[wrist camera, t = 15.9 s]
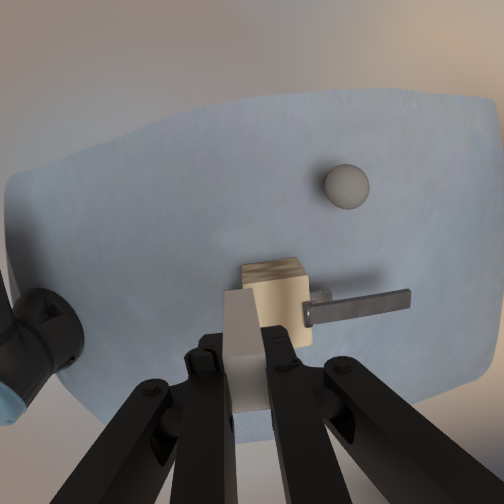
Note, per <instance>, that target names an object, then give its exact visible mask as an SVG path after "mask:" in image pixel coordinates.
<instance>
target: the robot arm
mask: <svg viewBox="0 0 504 504" xmlns="http://www.w3.org/2000/svg"><path fill="white" fill-rule="evenodd" d="M83 346H84V334H83V329H82V326H81V323H80V321H79V319H78V317H77V315H76V314H75V312H74V311H73V309H72V308H71V307H70V305H69V304H68V303H67V302H66V301H65V300H64V299H63V298H61V297H60V296H59V295H57V294H56V293H54V292H52V291H49V290H47V289H42V288H36V289H32V290H29V291H28V292H26V293H25V294H23V295H22V296H21V297H20V298H19V299H18V300H17V301H16V303H15V305H14V307H13V308H11V305H10V302H9V299H8V296H7V292H6V289H5V286H4V282H3V278H2V274H1V271H0V425H3V426H7V425H11V424H13V423H15V422H16V421H17V419H18V418H19V417H20V416H21V415H22V414H23V413H24V412H26V410H27V408H28V406H29V405H30V403H31V402H32V401H33V399H34V398H35V396H36V395H37V394H38V392H39V391H40V390H41V388H42V387H43V386H44V384H45V383H46V382H47V380H48V379H49V378H50V376H51V375H52V374H54V373H57V372H59V371H61V370H63V369H65V368H67V367H69V366H71V365H72V364H73V363H74V362H75V361H76V360H77V358H78V357H79V356H80V354H81V352H82V350H83ZM184 359H185V363H186V367H187V371H188V375H189V376H188V380H186V381H185V382H183V383H180V384H177V385H173V386H169V385H168V383H167V382H166V381H165V380H162V379H149V380H145V381H143V382H141V383H140V384H139V385H138V386H136V388H135V389H134V390H133V392H132V393H131V394H130V396H129V397H128V398H127V400H126V401H125V402H124V404H123V405H122V406H121V408H120V409H119V410H118V412H117V413H116V414H115V416H114V417H113V418H112V420H111V421H110V422H109V424H108V425H107V426H106V428H105V429H104V430H103V432H102V433H101V434H100V436H99V437H98V438H97V440H96V441H95V442H94V444H93V445H92V446H91V448H90V449H89V450H88V452H87V453H86V454H85V456H84V457H83V458H82V460H81V461H80V463H79V464H78V465H77V467H76V468H75V469H74V471H73V472H72V473H71V475H70V476H69V477H68V479H67V480H66V482H65V483H64V484H63V486H62V487H61V488H60V490H59V491H58V492H57V494H56V495H55V496H54V498H53V499H52V501H51V502H50V504H154V503H155V501H156V499H157V497H158V495H159V493H160V490H161V488H162V486H163V484H164V481H165V480H166V478H167V476H168V474H169V472H170V469H171V468H172V465H173V463H174V461H175V466H174V473H173V481H172V488H171V496H170V504H238V498H237V481H236V480H237V479H236V458H235V434H234V420H233V415H232V410H233V413H239V412H249V411H257V410H265V409H271V417H272V427H273V430H274V435H275V440H276V446H277V452H278V458H279V463H280V470H281V475H282V481H283V487H284V492H285V498H286V503H287V504H352V501H351V498H350V495H349V492H348V489H347V486H346V484H345V481H344V478H343V475H342V472H341V469H340V467H339V464H338V461H337V458H336V455H335V453H334V450H333V447H332V444H331V441H330V439H329V436H328V433H327V430H326V427H325V425H326V426H327V427H328V428H329V430H330V431H331V432H332V433H333V435H334V436H335V437H336V439H337V440H338V441H339V442H340V443H341V445H342V446H343V447H344V449H345V450H346V451H347V452H348V454H349V455H350V456H351V457H352V459H353V460H354V461H355V462H356V463H357V465H358V466H359V467H360V468H361V470H362V471H363V472H364V473H365V474H366V476H367V477H368V478H369V479H370V480H371V482H372V483H373V484H374V485H375V486H376V487H377V489H378V490H379V491H380V492H381V493H382V495H383V496H384V497H385V498H386V499H387V501H388V502H389V503H390V504H504V482H503V481H502V480H500V479H499V478H498V477H497V476H495V475H494V474H493V473H492V472H490V471H489V470H488V469H487V468H486V467H484V466H483V465H482V464H481V463H479V462H478V461H477V460H475V458H473V457H472V456H471V455H470V454H468V453H467V452H466V451H465V450H463V449H462V448H461V447H460V446H459V445H458V444H456V443H455V442H454V441H453V440H451V439H450V438H449V437H448V436H447V435H445V434H444V433H443V432H442V431H440V430H439V429H438V428H437V427H436V426H435V425H433V424H432V423H431V422H430V421H429V420H427V419H426V418H425V417H424V416H423V415H421V414H420V413H419V412H418V411H417V410H415V409H414V408H413V407H412V406H411V405H409V404H408V403H407V402H406V401H405V400H403V399H402V398H401V397H400V396H399V395H398V394H396V393H395V392H394V391H393V390H392V389H390V388H389V387H388V386H387V385H386V384H385V383H383V382H382V381H381V380H380V379H379V378H377V377H376V376H375V375H374V374H373V373H372V372H370V371H369V370H368V369H367V368H366V367H364V366H363V365H362V364H361V363H360V362H359V361H357V360H356V359H354V358H352V357H347V356H338V357H334V358H331V359H329V360H328V361H327V362H326V363H325V364H324V368H322V367H309V366H306V365H304V364H303V363H302V362H301V360H300V359H299V358H297V357H296V354H295V351H294V348H293V345H292V342H291V340H290V337H289V334H288V331H287V329H286V328H284V327H283V326H282V325H276V326H268V327H261V328H260V324H259V319H258V314H257V309H256V304H255V298H254V293H253V288H246V289H238V290H229V291H225V295H224V322H223V333H215V334H205V335H204V336H203V337H202V338H201V339H200V340H199V344H198V348H195V349H192V350H190V351H189V352H188V353H186V355H185V356H184ZM323 421H324V422H323ZM324 423H325V424H324Z"/></svg>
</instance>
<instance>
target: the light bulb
mask: <svg viewBox="0 0 504 504" xmlns="http://www.w3.org/2000/svg"><path fill="white" fill-rule="evenodd" d="M369 189H370V186H369V181H368V178H367V176H366V175H365V173H364V172H363V171H362V170H361V169H360V168H358V167H356V166H354V165H349V164H343V165H339V166H337V167H335V168H334V169H332V170H331V171H330V172H329V174H328V175H327V177H326V180H325V192H326V195H327V197H328V199H329V200H330V201H331V203H332V204H334V205H335V206H337V207H339V208H342V209H347V210H350V209H355V208H357V207H359V206H360V205H362V204H363V203H364V202H365V200H366V199H367V197H368V194H369Z"/></svg>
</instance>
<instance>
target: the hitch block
mask: <svg viewBox="0 0 504 504" xmlns="http://www.w3.org/2000/svg"><path fill="white" fill-rule="evenodd" d="M241 266H242V286H243V289H246V288H253V293H254V298H255V304H256V309H257V314H258V319H259V324H260V328H261V327H268V326H276V325H282V326H283V327H284V328H286V329H287V331H288V334H289V337H290V340H291V342H292V345H293V348H299V347H305V346H311V345H313V344H312V327H311V328H305V327H304V317H303V302H306V301H309V302H310V295H309V281H308V274H307V273H306V271H305V270H304V268H303V267H302V265H301V264H300V262H299V261H298V259H297V258H290V259H283V260H276V261H269V262H262V263H254V264H247V265H241Z"/></svg>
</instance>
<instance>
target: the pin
mask: <svg viewBox="0 0 504 504" xmlns="http://www.w3.org/2000/svg"><path fill="white" fill-rule="evenodd" d="M309 295H310V302H311V304H314V303H321V302H328V301H333V300H332V294H331V291H330V289H326V290H320V291H314V292H309Z"/></svg>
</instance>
